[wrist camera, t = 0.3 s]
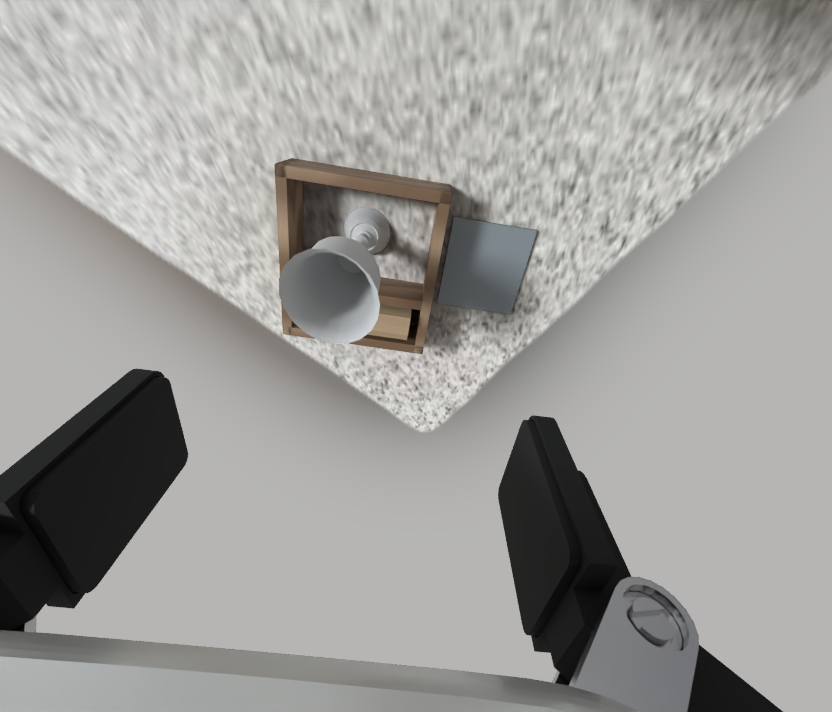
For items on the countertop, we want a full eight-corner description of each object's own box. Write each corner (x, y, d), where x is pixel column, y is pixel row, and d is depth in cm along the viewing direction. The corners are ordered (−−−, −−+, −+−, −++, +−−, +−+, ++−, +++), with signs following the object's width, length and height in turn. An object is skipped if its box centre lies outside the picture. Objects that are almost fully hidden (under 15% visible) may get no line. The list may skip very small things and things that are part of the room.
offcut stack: (312, 278, 45) (296, 301, 39) (413, 293, 45) (410, 318, 40) (312, 305, 47) (296, 331, 41) (409, 320, 47) (406, 347, 42)
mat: (453, 216, 40) (453, 217, 40) (536, 230, 41) (537, 231, 40) (437, 302, 46) (437, 303, 45) (510, 313, 46) (510, 314, 46)
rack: (292, 158, 38) (274, 163, 34) (449, 184, 39) (452, 193, 34) (296, 314, 47) (283, 334, 43) (423, 332, 48) (422, 354, 44)
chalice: (322, 218, 41) (257, 280, 26) (373, 182, 39) (335, 227, 24) (361, 274, 44) (324, 358, 29) (411, 244, 42) (399, 318, 27)
